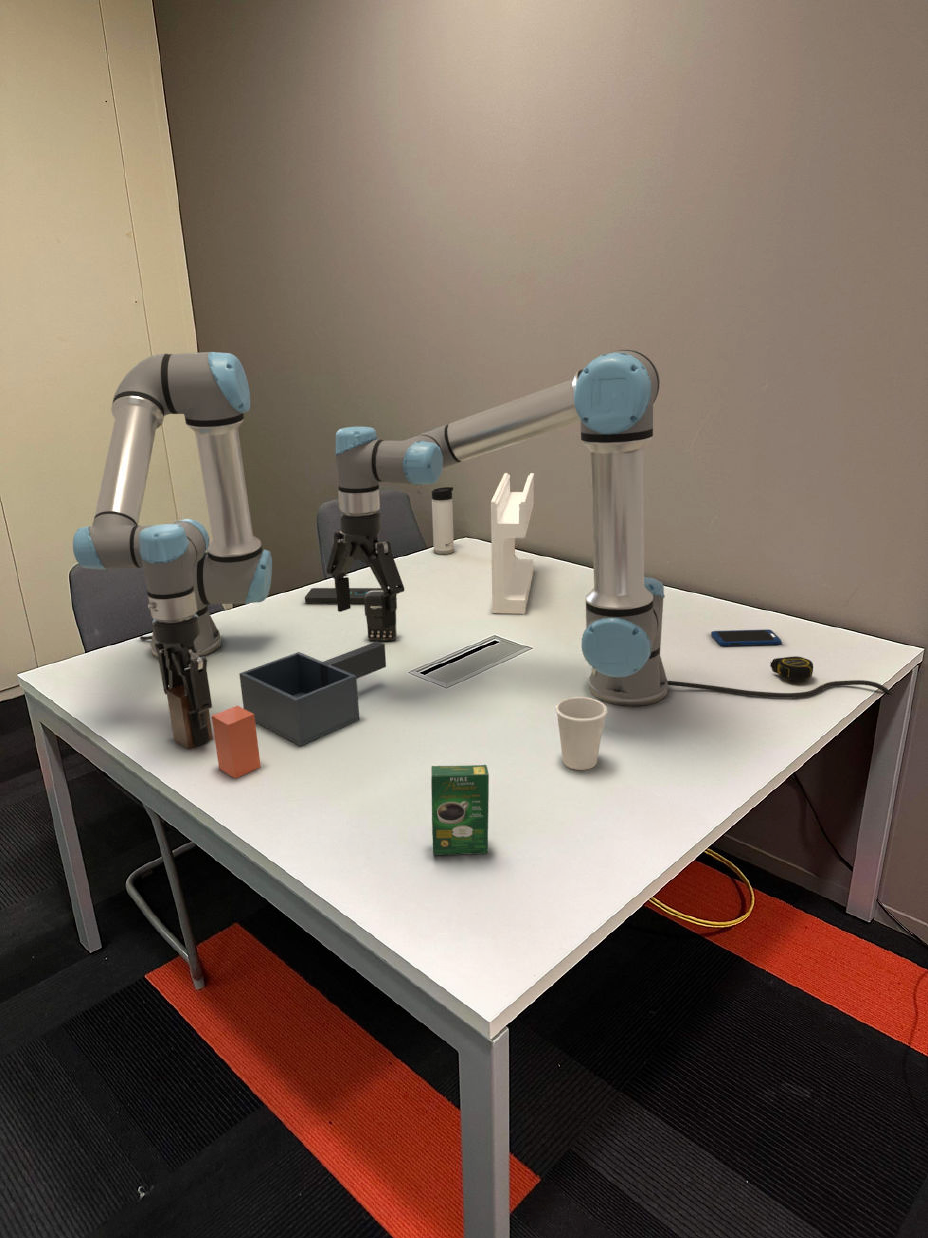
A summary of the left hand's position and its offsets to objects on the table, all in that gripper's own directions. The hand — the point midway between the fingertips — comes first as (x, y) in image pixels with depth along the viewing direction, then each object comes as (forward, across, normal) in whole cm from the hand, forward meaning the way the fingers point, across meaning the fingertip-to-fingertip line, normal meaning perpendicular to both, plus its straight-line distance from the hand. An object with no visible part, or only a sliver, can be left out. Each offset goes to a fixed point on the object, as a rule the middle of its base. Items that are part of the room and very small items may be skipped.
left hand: (193, 737), depth 154 cm
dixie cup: (+1, +57, +39) cm, 69 cm away
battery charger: (+1, -10, +54) cm, 55 cm away
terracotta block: (+1, +15, 0) cm, 15 cm away
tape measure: (+1, +69, +94) cm, 117 cm away
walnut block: (+1, 0, 0) cm, 1 cm away
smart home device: (+1, -39, +67) cm, 78 cm away
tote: (+1, +8, +25) cm, 26 cm away
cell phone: (+1, +53, +107) cm, 119 cm away
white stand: (+1, -9, +100) cm, 100 cm away
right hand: (-15, +8, +35) cm, 39 cm away
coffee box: (+1, +59, +8) cm, 60 cm away
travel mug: (+1, -50, +115) cm, 125 cm away
